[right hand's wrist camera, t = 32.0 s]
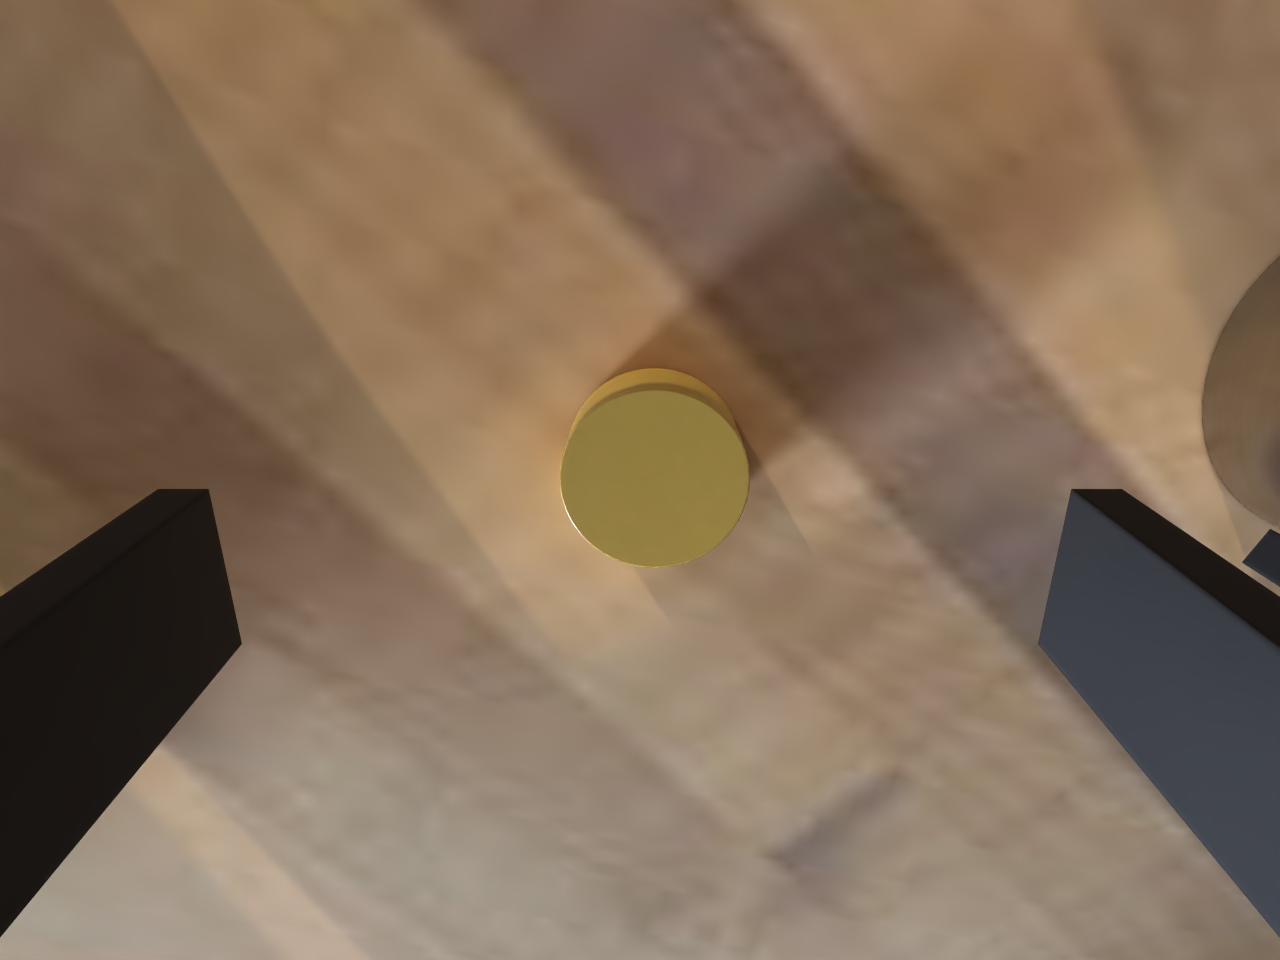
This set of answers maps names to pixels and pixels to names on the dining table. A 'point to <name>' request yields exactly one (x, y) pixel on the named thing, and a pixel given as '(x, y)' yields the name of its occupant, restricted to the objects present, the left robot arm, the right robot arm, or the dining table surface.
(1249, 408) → the bottle
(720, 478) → the cap
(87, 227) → the dining table surface
